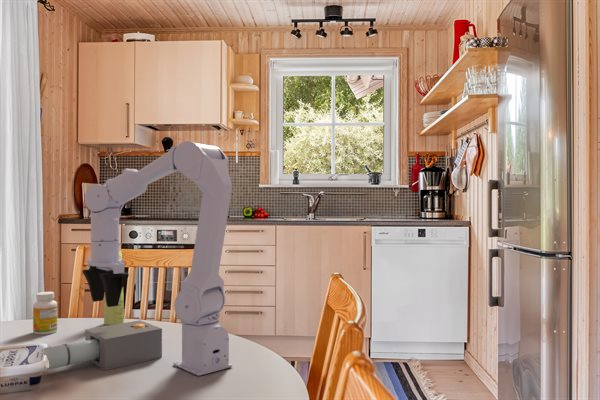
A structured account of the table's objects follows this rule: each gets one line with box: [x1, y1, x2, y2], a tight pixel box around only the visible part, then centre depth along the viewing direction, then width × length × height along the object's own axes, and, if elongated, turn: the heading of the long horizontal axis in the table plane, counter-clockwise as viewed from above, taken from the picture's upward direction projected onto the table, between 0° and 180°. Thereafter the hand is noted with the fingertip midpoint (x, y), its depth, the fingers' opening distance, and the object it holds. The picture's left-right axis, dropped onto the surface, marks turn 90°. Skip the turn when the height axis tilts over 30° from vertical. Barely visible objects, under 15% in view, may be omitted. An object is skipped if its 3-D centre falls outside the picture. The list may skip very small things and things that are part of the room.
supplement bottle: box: [32, 291, 58, 336], centre depth 129 cm, size 5×5×10 cm
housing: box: [84, 319, 163, 371], centre depth 108 cm, size 12×10×6 cm
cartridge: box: [42, 339, 100, 370], centre depth 102 cm, size 13×4×4 cm, turn 133°
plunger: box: [133, 324, 145, 329], centre depth 111 cm, size 2×2×3 cm
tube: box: [103, 248, 125, 326], centre depth 138 cm, size 6×5×20 cm
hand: (105, 303), depth 113 cm, fingers open, 7 cm apart
